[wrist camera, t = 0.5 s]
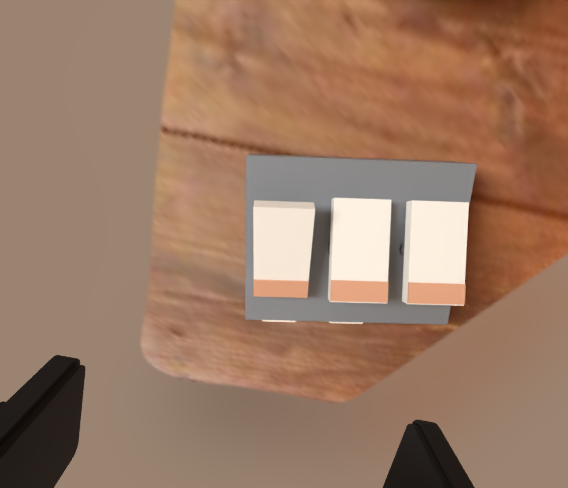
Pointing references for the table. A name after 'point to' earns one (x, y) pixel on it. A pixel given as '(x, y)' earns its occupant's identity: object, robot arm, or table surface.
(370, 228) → the rocker
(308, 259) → the block
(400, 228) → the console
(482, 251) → the table surface
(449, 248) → the block
